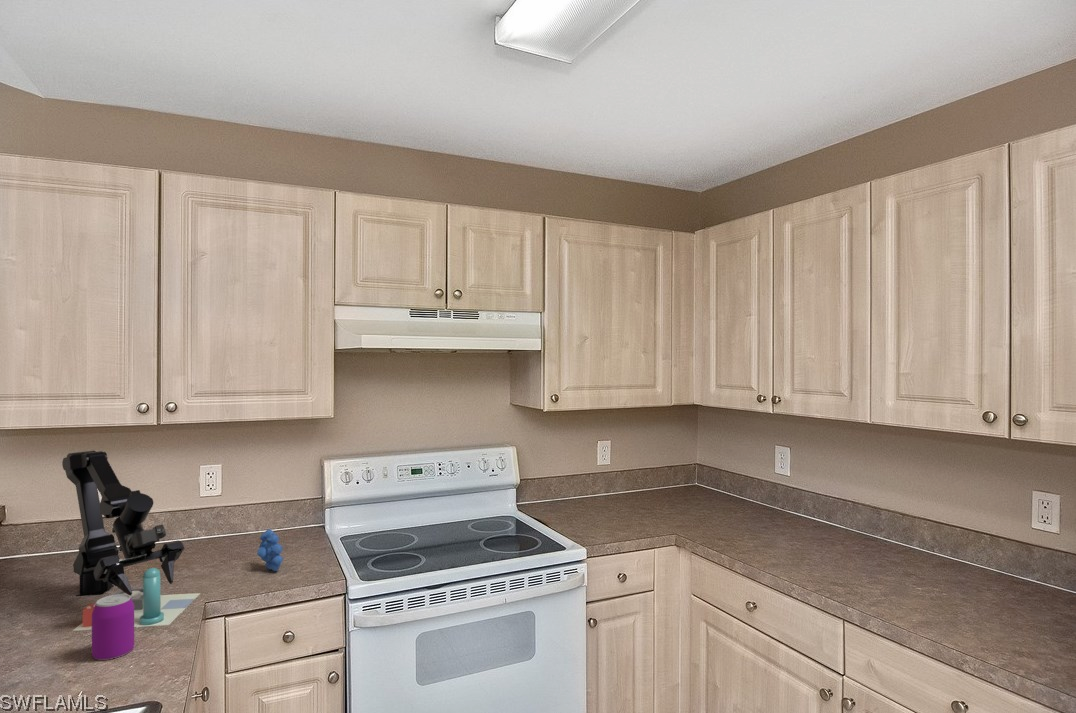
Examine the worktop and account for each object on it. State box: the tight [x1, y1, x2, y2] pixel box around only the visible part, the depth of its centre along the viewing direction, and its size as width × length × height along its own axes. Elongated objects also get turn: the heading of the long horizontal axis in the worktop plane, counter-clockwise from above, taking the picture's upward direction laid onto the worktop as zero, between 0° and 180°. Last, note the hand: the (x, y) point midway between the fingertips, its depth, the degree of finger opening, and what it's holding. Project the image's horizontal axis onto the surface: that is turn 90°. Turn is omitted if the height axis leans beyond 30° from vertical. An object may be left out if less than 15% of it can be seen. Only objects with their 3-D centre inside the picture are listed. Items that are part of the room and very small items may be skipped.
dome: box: [124, 591, 143, 599], centre depth 163 cm, size 6×6×2 cm
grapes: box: [256, 528, 284, 572], centre depth 189 cm, size 12×7×12 cm, turn 48°
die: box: [82, 602, 96, 627], centre depth 152 cm, size 4×4×4 cm
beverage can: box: [91, 594, 135, 661], centre depth 137 cm, size 8×8×12 cm
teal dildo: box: [140, 567, 164, 625], centre depth 153 cm, size 5×5×13 cm
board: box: [72, 592, 201, 632], centre depth 159 cm, size 21×20×1 cm
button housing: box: [112, 587, 143, 610], centre depth 163 cm, size 9×9×2 cm
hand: (151, 588), depth 152 cm, fingers open, 9 cm apart
